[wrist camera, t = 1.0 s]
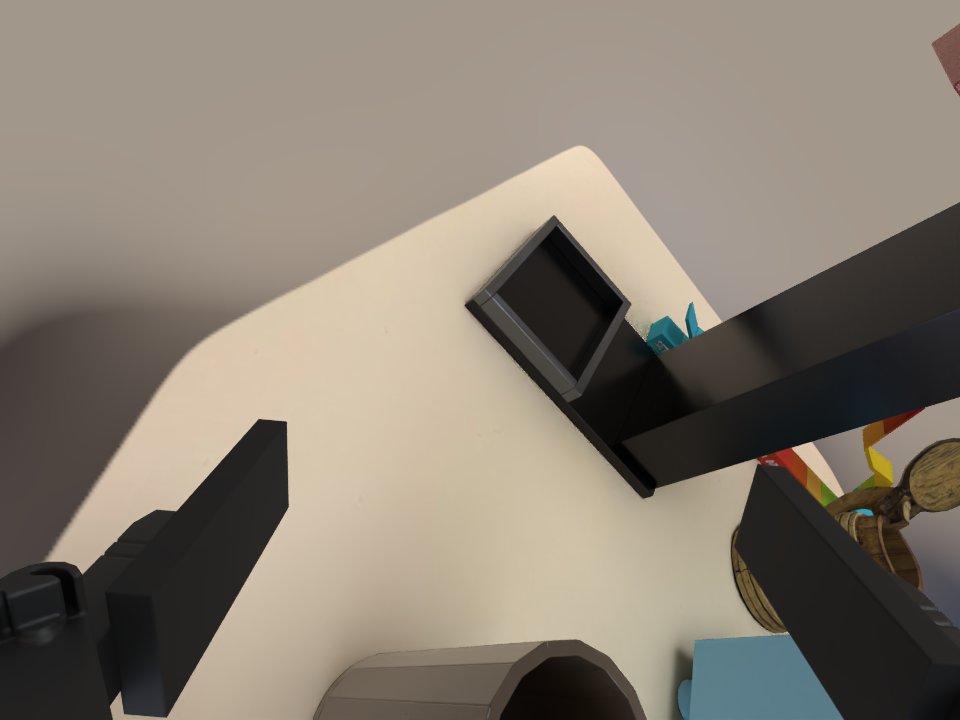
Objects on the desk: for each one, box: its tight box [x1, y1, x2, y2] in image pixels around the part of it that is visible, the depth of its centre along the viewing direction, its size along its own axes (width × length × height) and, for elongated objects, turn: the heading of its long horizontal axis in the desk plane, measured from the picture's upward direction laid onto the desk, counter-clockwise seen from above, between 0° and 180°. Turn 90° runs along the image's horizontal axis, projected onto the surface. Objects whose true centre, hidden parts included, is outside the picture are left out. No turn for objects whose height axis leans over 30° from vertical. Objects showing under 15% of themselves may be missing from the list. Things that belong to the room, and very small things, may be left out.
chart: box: [646, 302, 925, 516], centre depth 53 cm, size 30×3×15 cm, turn 61°
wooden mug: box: [732, 438, 960, 633], centre depth 45 cm, size 9×14×18 cm, turn 151°
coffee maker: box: [465, 24, 960, 499], centre depth 37 cm, size 21×14×31 cm, turn 56°
